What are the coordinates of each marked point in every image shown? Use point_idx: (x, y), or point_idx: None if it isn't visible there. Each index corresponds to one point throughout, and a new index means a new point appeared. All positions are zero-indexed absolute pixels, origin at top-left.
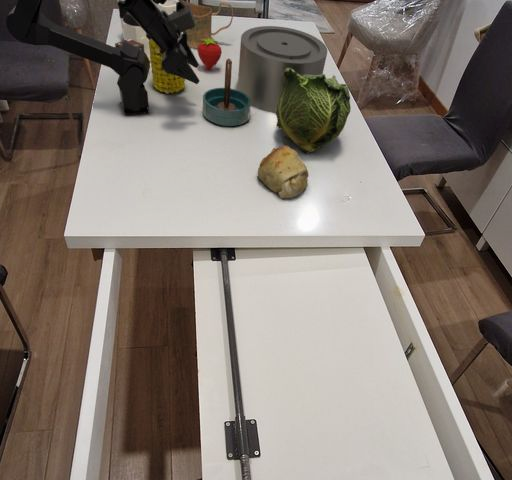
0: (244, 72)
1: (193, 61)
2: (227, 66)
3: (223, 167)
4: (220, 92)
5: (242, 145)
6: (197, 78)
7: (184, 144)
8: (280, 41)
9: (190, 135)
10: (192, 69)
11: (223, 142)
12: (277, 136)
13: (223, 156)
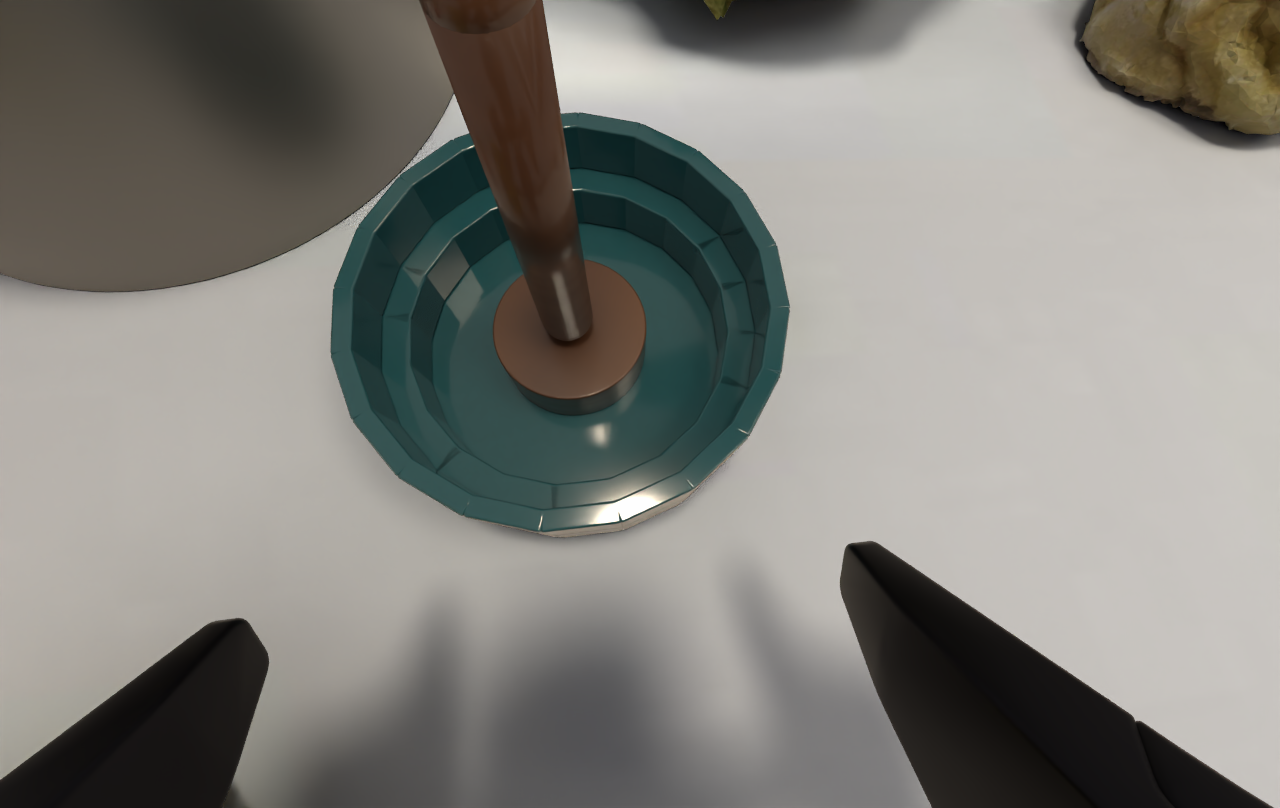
0: (120, 104)
1: (184, 747)
2: (538, 46)
3: (1247, 335)
4: (372, 378)
5: (940, 234)
6: (918, 574)
7: (1098, 635)
8: None
9: None
10: (1032, 717)
11: (952, 352)
12: (759, 48)
13: (1123, 342)
